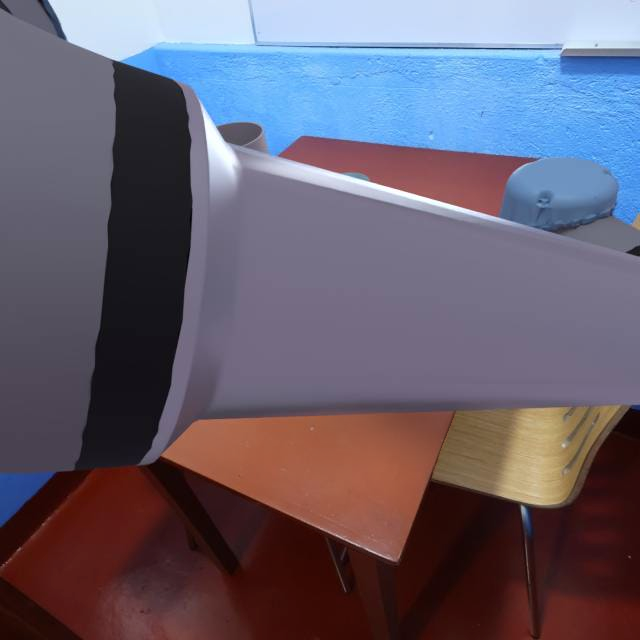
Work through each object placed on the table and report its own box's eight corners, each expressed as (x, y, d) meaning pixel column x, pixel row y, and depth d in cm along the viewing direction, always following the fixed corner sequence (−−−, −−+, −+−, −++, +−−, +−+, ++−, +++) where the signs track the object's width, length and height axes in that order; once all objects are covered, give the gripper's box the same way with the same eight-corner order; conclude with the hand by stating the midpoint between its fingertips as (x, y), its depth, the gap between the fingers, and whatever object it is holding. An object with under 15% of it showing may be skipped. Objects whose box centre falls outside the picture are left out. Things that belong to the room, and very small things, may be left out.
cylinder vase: (301, 249, 97) (278, 127, 80) (259, 282, 90) (225, 157, 73) (259, 233, 103) (230, 117, 86) (217, 262, 97) (176, 144, 80)
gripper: (366, 400, 45) (216, 322, 56) (477, 262, 58) (339, 221, 69) (361, 346, 40) (197, 272, 51) (484, 208, 53) (334, 173, 64)
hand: (279, 243), depth 60 cm, fingers open, 13 cm apart
